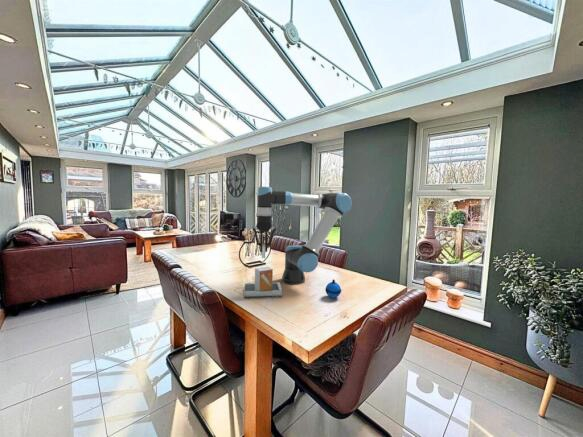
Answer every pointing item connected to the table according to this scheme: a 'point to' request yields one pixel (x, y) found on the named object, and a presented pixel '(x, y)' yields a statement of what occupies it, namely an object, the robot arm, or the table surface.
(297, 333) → the table surface
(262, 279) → the small box
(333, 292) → the ornament
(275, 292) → the grey rectangular tray
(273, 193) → the robot arm
